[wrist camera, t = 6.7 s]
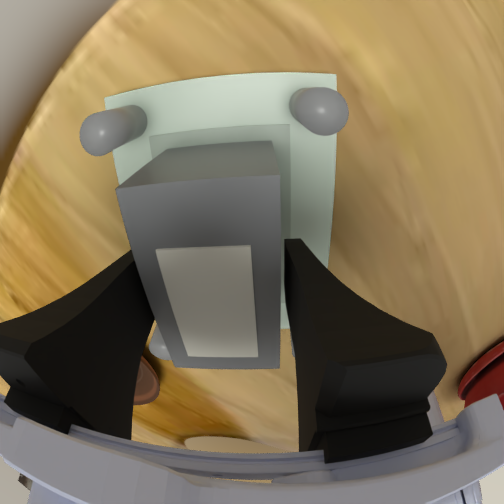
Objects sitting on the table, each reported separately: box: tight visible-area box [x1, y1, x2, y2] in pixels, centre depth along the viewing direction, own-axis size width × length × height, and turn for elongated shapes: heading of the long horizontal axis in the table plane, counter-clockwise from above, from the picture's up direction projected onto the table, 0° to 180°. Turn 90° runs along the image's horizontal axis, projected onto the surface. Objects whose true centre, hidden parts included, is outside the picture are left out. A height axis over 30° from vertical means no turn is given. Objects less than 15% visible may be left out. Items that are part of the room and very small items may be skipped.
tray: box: [80, 72, 349, 360], centre depth 13 cm, size 14×10×4 cm
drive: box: [115, 141, 281, 369], centre depth 11 cm, size 8×4×5 cm, turn 3°
